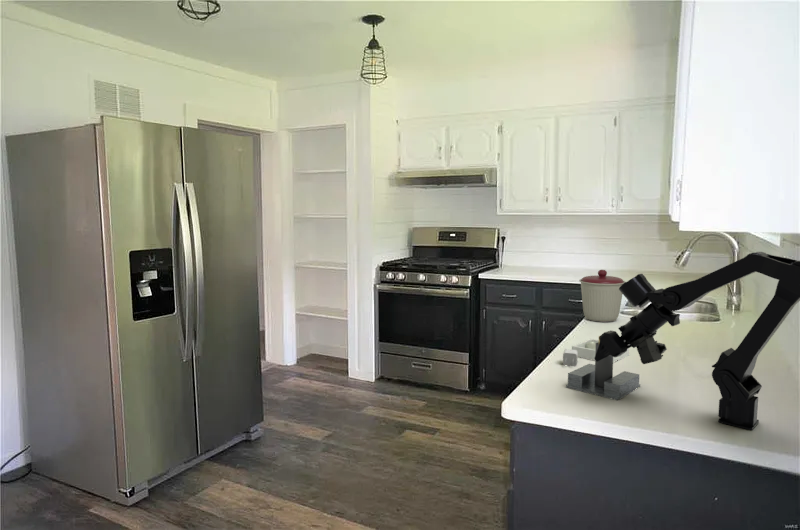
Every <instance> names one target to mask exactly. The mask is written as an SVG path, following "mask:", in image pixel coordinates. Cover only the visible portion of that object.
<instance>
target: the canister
mask: <svg viewBox="0 0 800 530" xmlns="http://www.w3.org/2000/svg"><path fill="white" fill-rule="evenodd" d="M607 274H608V272H607V270H606V269H600V270H598V272H597V275H586V276H584V277H582V278H580V279H579V283H580V290H581V300H582V301H581V302H582V310H583V316H584V317H585V318H586V319H587V320H589V321H593V322H598V323H599V322H600V323H609V322H611V323H612V322H615V321H616V320H618V317H619V315H620V312H621V305H622V299H623V294H622V293H621V291H620V290H619V288H620V287H621V285H622V284H624V283H625V282H626V281H625V280H624V279H622V278H620V277H618V276H612V275H607Z"/></svg>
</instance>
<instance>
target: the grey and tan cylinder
mask: <svg viewBox="0 0 800 530" xmlns="http://www.w3.org/2000/svg"><path fill="white" fill-rule="evenodd" d="M598 340H599V339H598ZM599 343H600V340H599V342H598V343H596V352H597V349H598V346H599ZM596 352H595V355H596ZM594 365H595V385H596V386H599V387H604V382H605V381H607V380H608V379H610V378H612V377H614V375H613V373H614V371H613V370H614V363H613V356H612V355H610V356H608V357H606V358H604V359H602V360H600V361H598V362H597V361H596V360H595V363H594Z"/></svg>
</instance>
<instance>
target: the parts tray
mask: <svg viewBox="0 0 800 530" xmlns="http://www.w3.org/2000/svg"><path fill="white" fill-rule="evenodd" d="M590 341H592V342H594V343H595V344H596V343H598V342H599V339H594V338H589V339H585V340H584V341H582V342H578V343H576V344H573V345H571V350H577V352H578V358H580V357H581V358H580V359H585V358H586V360H589V359H592V360H591V361H594V360H595V359H594V358H595V352H596V350H593V349H588V348H586V343H588V342H590ZM626 356H627V357H628V356H630V348H628V349H627V351H626V352H625V353H624V354H622V355H621V356H618V357H613V362H614V363H616V362H618V361H621V360H622V359H625V358H627V357H626ZM624 357H625V358H624ZM617 360H618V361H617ZM615 361H616V362H615Z"/></svg>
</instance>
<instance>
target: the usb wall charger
mask: <svg viewBox="0 0 800 530" xmlns="http://www.w3.org/2000/svg"><path fill="white" fill-rule="evenodd" d="M578 358H579V357H578V352H577V350H572V349H571V348H570V349H568V348H564V351H563V353H562V365H563V366H565V365H567V367H577V364H578Z"/></svg>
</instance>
